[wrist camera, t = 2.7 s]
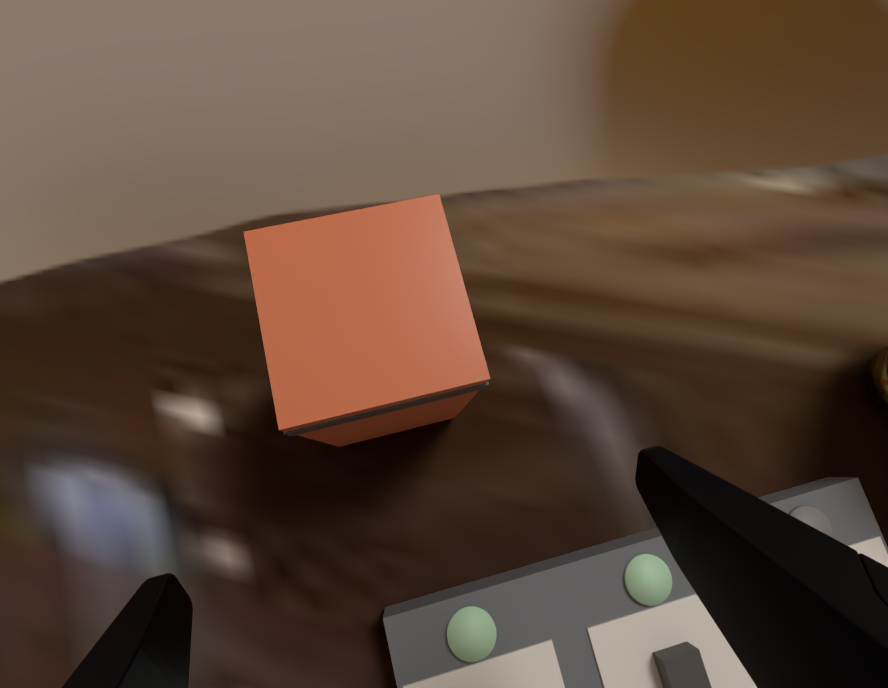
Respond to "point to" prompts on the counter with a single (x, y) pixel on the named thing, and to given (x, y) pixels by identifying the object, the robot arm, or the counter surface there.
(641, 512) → the counter surface
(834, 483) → the breaker panel
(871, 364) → the cup
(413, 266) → the block
